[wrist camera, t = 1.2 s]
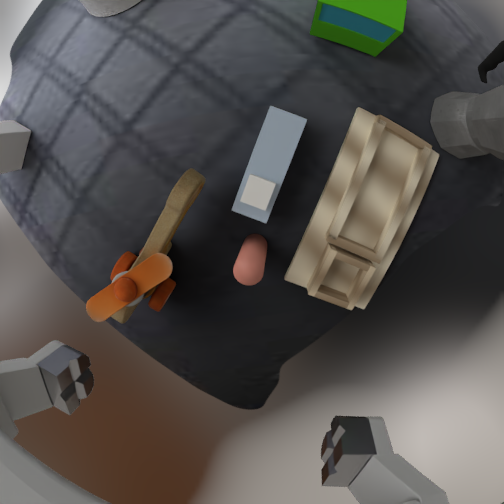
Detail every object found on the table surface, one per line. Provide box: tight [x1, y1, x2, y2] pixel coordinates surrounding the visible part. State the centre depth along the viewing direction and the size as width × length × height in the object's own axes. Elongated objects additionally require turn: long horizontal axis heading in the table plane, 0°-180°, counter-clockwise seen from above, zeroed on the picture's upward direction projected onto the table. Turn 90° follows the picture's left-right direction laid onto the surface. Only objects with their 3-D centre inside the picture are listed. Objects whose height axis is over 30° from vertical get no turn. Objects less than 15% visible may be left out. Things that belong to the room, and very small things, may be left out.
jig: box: [285, 107, 439, 310], centre depth 31 cm, size 23×12×4 cm, turn 160°
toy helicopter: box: [86, 168, 205, 323], centre depth 30 cm, size 8×21×14 cm, turn 147°
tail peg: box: [233, 234, 267, 285], centre depth 32 cm, size 3×3×8 cm
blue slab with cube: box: [232, 106, 307, 223], centre depth 30 cm, size 12×4×5 cm, turn 160°
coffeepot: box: [430, 41, 504, 160], centre depth 18 cm, size 15×9×18 cm, turn 8°
